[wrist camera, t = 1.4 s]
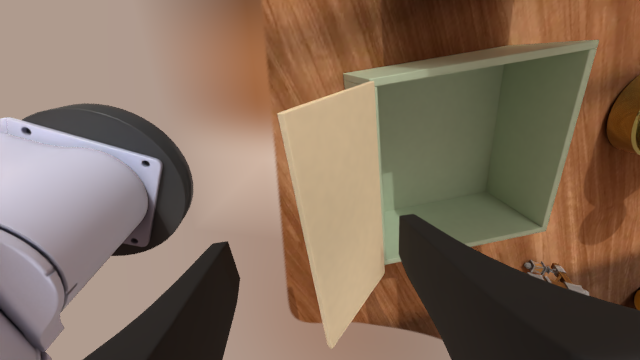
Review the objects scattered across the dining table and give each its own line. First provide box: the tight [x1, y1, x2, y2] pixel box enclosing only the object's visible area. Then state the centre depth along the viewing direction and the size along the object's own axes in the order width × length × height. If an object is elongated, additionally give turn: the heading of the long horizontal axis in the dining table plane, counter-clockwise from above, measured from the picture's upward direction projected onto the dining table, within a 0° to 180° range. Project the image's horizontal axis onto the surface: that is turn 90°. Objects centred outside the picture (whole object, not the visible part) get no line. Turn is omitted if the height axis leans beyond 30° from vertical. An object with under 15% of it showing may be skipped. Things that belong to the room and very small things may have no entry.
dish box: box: [343, 40, 599, 265], centre depth 18 cm, size 12×12×6 cm
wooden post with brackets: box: [492, 258, 589, 296], centre depth 27 cm, size 2×8×4 cm, turn 87°
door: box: [277, 81, 385, 349], centre depth 12 cm, size 6×12×1 cm
